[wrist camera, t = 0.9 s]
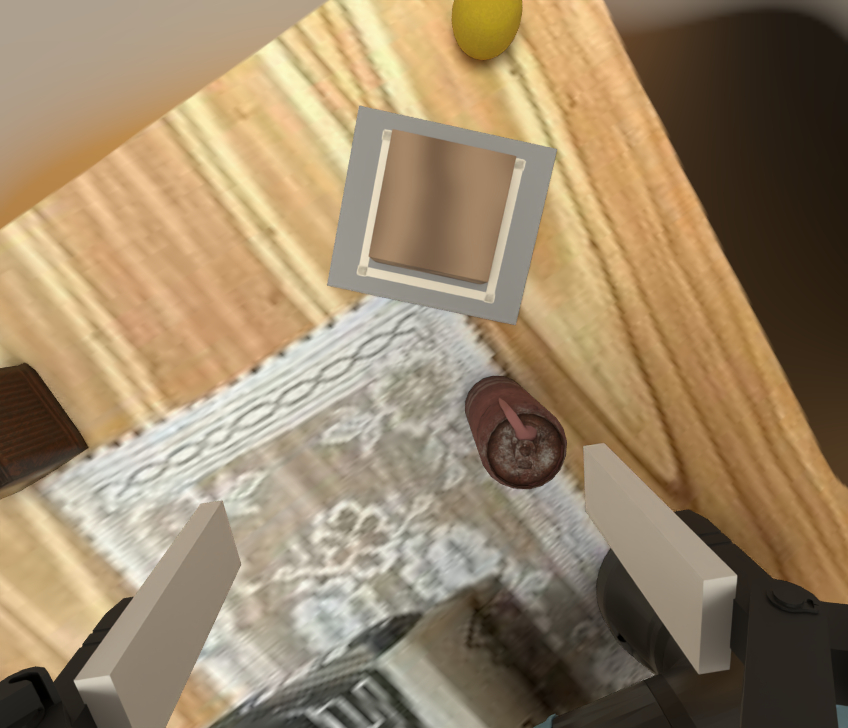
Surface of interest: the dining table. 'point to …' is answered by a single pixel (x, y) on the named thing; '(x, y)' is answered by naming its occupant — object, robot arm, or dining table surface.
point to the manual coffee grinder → (31, 430)
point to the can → (514, 434)
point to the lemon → (485, 26)
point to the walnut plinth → (441, 207)
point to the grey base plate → (427, 289)
